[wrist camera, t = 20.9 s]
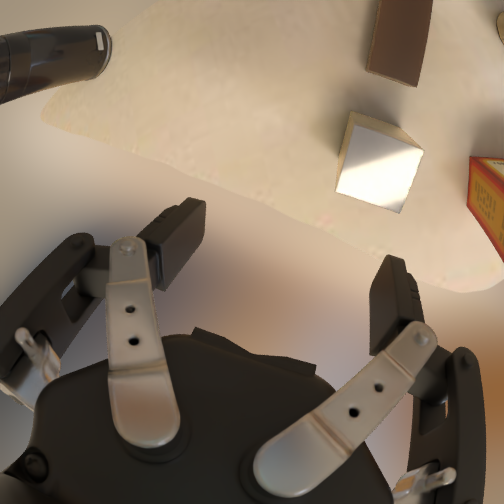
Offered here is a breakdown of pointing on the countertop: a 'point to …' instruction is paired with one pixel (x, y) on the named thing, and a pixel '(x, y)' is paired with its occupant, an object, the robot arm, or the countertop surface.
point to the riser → (400, 40)
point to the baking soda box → (488, 197)
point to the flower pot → (501, 26)
